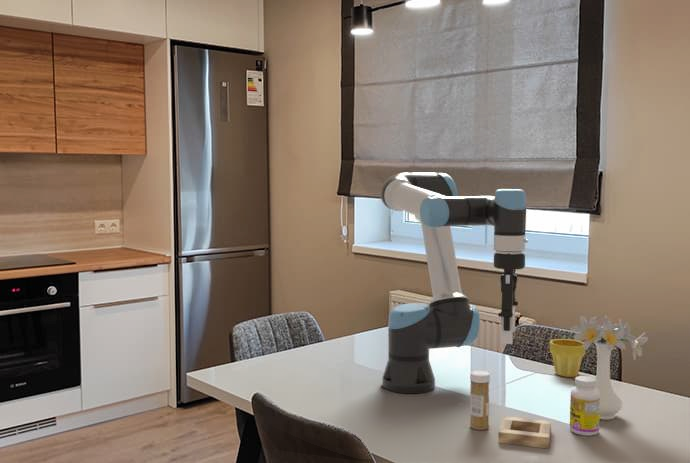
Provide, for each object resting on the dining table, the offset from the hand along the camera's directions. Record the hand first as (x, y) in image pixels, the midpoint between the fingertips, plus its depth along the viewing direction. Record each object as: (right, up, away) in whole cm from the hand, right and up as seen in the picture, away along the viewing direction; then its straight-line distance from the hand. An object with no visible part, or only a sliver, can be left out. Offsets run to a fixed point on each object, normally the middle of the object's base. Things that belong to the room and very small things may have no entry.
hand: (508, 337), depth 176 cm
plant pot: (+27, -17, +40) cm, 52 cm away
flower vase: (+25, -21, +3) cm, 33 cm away
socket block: (+1, -22, -11) cm, 24 cm away
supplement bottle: (+16, -21, -8) cm, 28 cm away
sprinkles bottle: (-8, -21, -5) cm, 23 cm away
